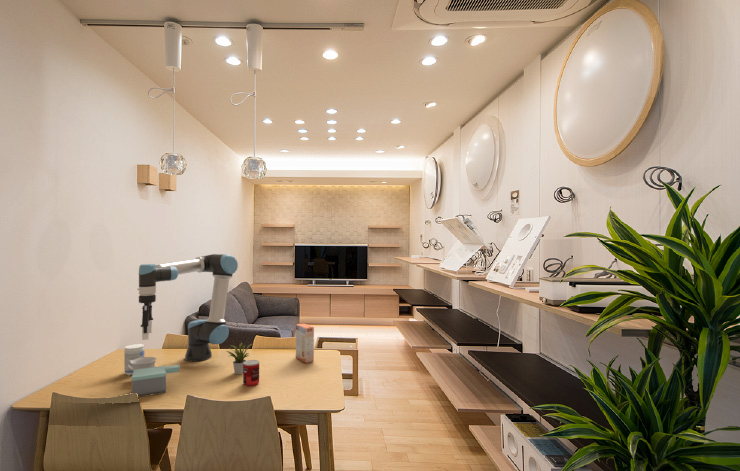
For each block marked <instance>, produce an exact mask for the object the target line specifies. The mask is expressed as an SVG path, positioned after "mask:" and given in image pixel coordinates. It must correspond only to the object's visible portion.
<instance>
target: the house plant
mask: <svg viewBox="0 0 740 471" xmlns="http://www.w3.org/2000/svg"><path fill="white" fill-rule="evenodd" d="M252 345H253V343H251V344H249V345H247V344H245V345H243V342H241V343H239V346H238V347H239V348H238V347H237V346H236V345H234V344H233V345H231V344H230V346H231V347H232V348H234V350H233V349H232V348H230V347H228V349H230V350H231V351H232V352H231V351H229V350H226V352H227V353H228V354H229V357H233V358H234V360H233V361H232V365H233V370H234V375H243V362H245V361H247V360H246V359H245V358H248V357H250V353H248V352H247V351H248V350H249V349H250V346H252ZM245 346H247V347H246V348H245Z"/></svg>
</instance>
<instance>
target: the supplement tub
mask: <svg viewBox="0 0 740 471" xmlns="http://www.w3.org/2000/svg"><path fill="white" fill-rule="evenodd" d="M123 352H124V356H123V357H124V360H123V362H124V374H125V375H127V376H132V375H133V370H131V369H129V368H128V367H127V362H128V361H130V360H132V361H133V360H135V359H138V358H143V357H145V345H144V343H136V344H135V343H134V344H129V345H126V346H124V351H123ZM129 365H130V367H132V365H131V363H129ZM132 368H133V367H132Z"/></svg>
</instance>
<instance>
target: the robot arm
mask: <svg viewBox="0 0 740 471" xmlns="http://www.w3.org/2000/svg"><path fill="white" fill-rule="evenodd" d="M238 264H239V263H238V261H237V259H236V257H235V256H234V255H231V254H226V253H225V254H220V253H219V254H217V253H212V254H207V255H202V256H197V257H195V258H193V259H188V260H181V261H175V262H168V263H161V264H155V263H147V264H146V263H145V264H140V265H139V267H138V288H137V291H138V295H139V296H138V303H139V304H143V305H142V307H141V309H142V316H141V324H140V328H141V330H142V331H141V332H142V333H141V334H142V335H141V340H142V341H144V340H149V336H150V334H152V333H153V332H152V331H153V322H152V321H154V318H153V312H152V310H153V305H152V303H155V302H156V301H157V295H156V294H157V293H156V292H157V285H156V284H157V283H158V282H168V281H169V282H170V281H175V280H177V278H178V277H179V276H180V275H184V274H190V273H195V272H197V273H200V274H201V273H212V277H213V278H214V280H213V288H212V295H211V299H210V300H211V301H210V309H209V316H208V318H206V319H198V320H197V319H196V320H193V321H189V323H188V325H187V338H188V339H187V342H188V344H187V345H188V346H187V349H186V352H185V355H184V359H185V361H187V362H200V361H206V360H208V359H211V357H212V355H213V353H212V350H211V347H210V345H220V344H222V343H224V342H225V341H226V340H227V338H228V337H229V333H230V332H229V331H230V330H229V328H228V326H227V324H226V323H227V321H226V319H225V313H226V305H227V300H228V299H227V298H228V290H229V283H230V279H232V278H233V274H234V273H236V272H237V270H238V268H239V265H238Z"/></svg>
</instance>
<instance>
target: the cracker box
mask: <svg viewBox="0 0 740 471" xmlns="http://www.w3.org/2000/svg"><path fill="white" fill-rule="evenodd" d="M314 337H315V327H314V326H311V325H310V324H308V323H305V322H303V323H297V324H295V358H296V359H298V360H300V361H301V362H302V363H305V364H306V363H307V364H308V363H314V361H315V360H314V357H315V356H314V353H315V350H314V348H315V347H314V345H315V344H314V343H315V339H314Z"/></svg>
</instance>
